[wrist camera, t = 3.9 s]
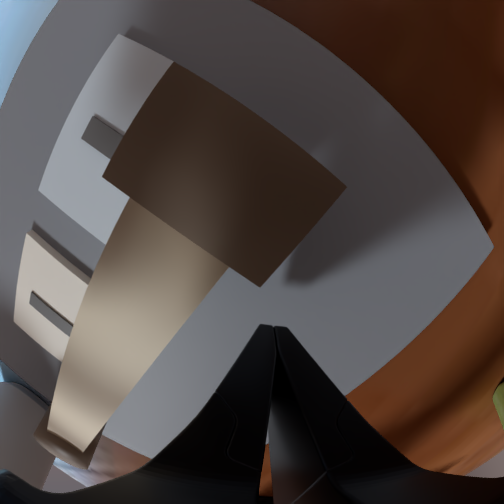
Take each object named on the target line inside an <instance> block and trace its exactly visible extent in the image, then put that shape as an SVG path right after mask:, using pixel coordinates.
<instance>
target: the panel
mask: <svg viewBox="0 0 504 504" xmlns="http://www.w3.org/2000/svg"><path fill="white" fill-rule="evenodd" d="M173 62H176V63H177V64H179V65H181V66H183V67H184V68H186V69H188V70H190V71H191V72H193V73H195V74H196V75H198V76H200V77H201V78H203V79H205V80H206V81H208V82H209V83H211V84H213V85H214V86H216V87H217V88H219V89H220V90H222V91H224V92H225V93H227V94H228V95H230V96H231V97H233V98H234V99H236V100H237V101H239V102H240V103H242V104H243V105H245V106H246V107H247V108H249V109H250V110H252V111H253V112H255V113H256V114H257V115H259V116H260V117H262V118H263V119H264V120H266V121H267V122H268V123H270V124H271V125H273V126H274V127H275V128H277V129H278V130H279V131H281V132H282V133H283V134H284V135H286V136H287V137H288V138H290V139H291V140H292V141H293V142H295V143H296V144H297V145H299V146H300V147H301V148H302V149H304V150H305V151H306V152H307V153H308V154H310V155H311V156H312V157H313V158H315V159H316V160H317V161H318V162H319V163H321V164H322V165H323V166H324V167H325V168H326V169H328V170H329V171H330V172H331V173H332V174H333V175H335V176H336V177H337V178H338V179H339V180H340V181H341V182H342V183H344V184H345V185H346V186H347V188H346V189H345V190H344V192H343V193H342V194H341V195H340V196H339V198H338V199H337V200H336V201H335V202H334V204H333V205H332V206H331V207H330V208H329V209H328V211H327V212H326V213H325V214H324V215H323V217H322V218H321V219H320V220H319V221H318V222H317V224H316V225H315V226H314V227H313V228H312V229H311V231H310V232H309V233H308V234H307V235H306V236H305V237H304V239H303V240H302V241H301V242H300V243H299V244H298V246H297V247H296V248H295V249H294V250H293V251H292V252H291V254H290V255H289V256H288V257H287V258H286V259H285V260H284V262H283V263H282V264H281V265H280V266H279V267H278V268H277V269H276V271H275V272H274V273H273V274H272V275H271V276H270V277H269V278H268V280H267V281H266V282H265V283H264V284H263V285H262V286H261V287H258V286H257V285H255V284H254V283H252V282H251V281H249V280H248V279H246V278H245V277H243V276H242V275H240V274H239V273H237V272H236V271H234V270H233V269H231V268H230V267H229V268H228V269H227V270H226V272H225V273H224V274H223V275H222V277H221V278H220V279H219V280H218V282H217V283H216V284H215V285H214V287H213V288H212V289H211V290H210V292H209V293H208V294H207V295H206V297H205V298H204V299H203V300H202V302H201V303H200V304H199V305H198V307H197V308H196V309H195V310H194V312H193V313H192V314H191V315H190V317H189V318H188V319H187V320H186V322H185V323H184V324H183V325H182V327H181V328H180V329H179V330H178V332H177V333H176V334H175V335H174V337H173V338H172V339H171V341H170V342H169V343H168V344H167V346H166V347H165V348H164V349H163V351H162V352H161V353H160V354H159V356H158V357H157V358H156V359H155V361H154V362H153V363H152V365H151V366H150V367H149V368H148V370H147V371H146V372H145V373H144V375H143V376H142V377H141V379H140V380H139V381H138V382H137V384H136V385H135V386H134V387H133V389H132V390H131V391H130V393H129V394H128V395H127V396H126V398H125V399H124V400H123V402H122V403H121V404H120V405H119V407H118V408H117V409H116V410H115V412H114V413H113V414H112V416H111V417H110V418H109V419H108V421H107V423H106V425H105V428H104V430H103V432H102V434H103V435H104V436H106V437H108V438H110V439H112V440H114V441H115V442H117V443H119V444H121V445H123V446H125V447H127V448H129V449H131V450H133V451H136V452H138V453H140V454H142V455H144V456H146V457H149V458H151V459H152V458H154V457H155V456H156V455H157V454H158V453H159V452H160V451H161V450H162V449H163V448H164V447H166V446H167V445H168V444H169V443H170V442H171V441H172V440H173V439H174V438H175V437H176V436H177V435H178V434H179V433H180V432H181V431H182V430H183V429H184V428H185V427H186V426H187V425H188V424H189V423H190V422H191V421H192V420H193V419H194V418H195V417H196V415H197V414H198V413H199V412H200V411H201V409H202V408H203V407H204V405H205V404H206V403H207V401H208V400H209V399H210V397H211V396H212V394H213V393H214V392H215V390H216V389H217V387H218V386H219V384H220V383H221V381H222V380H223V379H224V377H225V376H226V374H227V373H228V371H229V370H230V368H231V367H232V365H233V364H234V362H235V361H236V359H237V358H238V356H239V355H240V353H241V352H242V350H243V349H244V347H245V346H246V344H247V342H248V341H249V339H250V338H251V336H252V335H253V333H254V332H255V330H256V329H257V327H258V325H259V324H267V325H272V326H273V327H274V326H285V327H288V328H289V330H290V331H291V332H292V333H293V334H294V336H295V337H296V338H297V339H298V341H299V342H300V343H301V344H302V345H303V347H304V348H305V349H306V350H307V352H308V353H309V354H310V355H311V356H312V358H313V359H314V360H315V361H316V362H317V364H318V365H319V366H320V367H321V368H322V370H323V371H324V372H325V373H326V374H327V376H328V377H329V378H330V379H331V380H332V382H333V383H334V384H335V385H336V386H337V388H338V389H339V390H340V391H341V392H342V394H343V395H344V396H345V395H347V394H348V393H349V392H351V391H352V390H353V389H355V388H356V387H357V386H359V385H360V384H361V383H363V382H364V381H365V380H366V379H368V378H369V377H370V376H372V375H373V374H374V373H375V372H376V371H378V370H379V369H380V368H381V367H383V366H384V365H385V364H386V363H387V362H389V361H390V360H391V359H392V358H393V357H394V356H395V355H397V354H398V353H399V352H400V351H401V350H402V349H403V348H404V347H406V346H407V345H408V344H409V343H410V342H411V341H412V340H413V339H414V338H415V337H416V336H417V335H418V334H419V333H420V332H421V331H422V330H424V329H425V328H426V327H427V326H428V325H429V324H430V323H431V322H432V320H433V319H434V318H435V317H436V316H437V315H438V314H439V313H440V312H441V311H442V310H443V309H444V308H445V307H446V306H447V305H448V304H449V302H450V301H451V300H452V299H453V298H454V297H455V296H456V295H457V293H458V292H459V291H460V290H461V289H462V288H463V286H464V285H465V284H466V283H467V282H468V280H469V279H470V278H471V277H472V276H473V274H474V273H475V272H476V271H477V269H478V268H479V267H480V265H481V264H482V263H483V261H484V260H485V259H486V257H487V256H488V255H489V253H490V252H491V251H492V249H493V248H494V246H493V244H492V242H491V240H490V238H489V236H488V235H487V233H486V231H485V229H484V227H483V226H482V224H481V222H480V220H479V219H478V217H477V215H476V214H475V212H474V210H473V209H472V207H471V205H470V204H469V202H468V201H467V199H466V198H465V196H464V194H463V193H462V191H461V190H460V188H459V187H458V186H457V184H456V183H455V181H454V180H453V178H452V177H451V176H450V174H449V173H448V171H447V170H446V169H445V167H444V166H443V165H442V163H441V162H440V161H439V159H438V158H437V157H436V156H435V154H434V153H433V152H432V151H431V149H430V148H429V147H428V146H427V144H426V143H425V142H424V141H423V140H422V138H421V137H420V136H419V135H418V134H417V133H416V131H415V130H414V129H413V128H412V127H411V126H410V125H409V124H408V122H407V121H406V120H405V119H404V118H403V117H402V116H401V115H400V114H399V113H398V112H397V111H396V110H395V109H394V108H393V107H392V106H391V105H390V104H389V103H388V102H387V101H386V100H385V99H384V98H383V97H382V96H381V95H380V94H379V93H378V92H377V91H376V90H375V89H374V88H373V87H372V86H371V85H370V84H369V83H367V82H366V81H365V80H364V79H363V78H362V77H361V76H360V75H358V74H357V73H356V72H355V71H354V70H353V69H351V68H350V67H349V66H348V65H347V64H345V63H344V62H343V61H342V60H340V59H339V58H338V57H337V56H335V55H334V54H333V53H331V52H330V51H329V50H328V49H326V48H325V47H324V46H322V45H321V44H319V43H318V42H317V41H315V40H314V39H312V38H311V37H310V36H308V35H307V34H305V33H304V32H302V31H301V30H299V29H298V28H296V27H295V26H293V25H292V24H290V23H288V22H287V21H285V20H284V19H282V18H280V17H279V16H277V15H275V14H274V13H272V12H270V11H268V10H267V9H265V8H263V7H261V6H259V5H258V4H256V3H254V2H252V1H250V0H59V1H58V2H57V4H56V5H55V6H54V8H53V9H52V11H51V12H50V14H49V15H48V17H47V18H46V20H45V21H44V23H43V24H42V26H41V27H40V29H39V31H38V32H37V34H36V36H35V37H34V39H33V41H32V42H31V44H30V46H29V48H28V50H27V51H26V53H25V55H24V57H23V59H22V61H21V63H20V65H19V67H18V69H17V71H16V73H15V75H14V77H13V80H12V82H11V84H10V86H9V89H8V91H7V93H6V96H5V98H4V101H3V103H2V106H1V109H0V359H1V360H2V361H3V362H4V363H5V364H6V365H7V366H8V367H9V368H10V369H11V370H13V371H14V372H15V373H16V374H17V375H18V376H19V377H21V378H22V379H23V380H24V381H25V382H27V383H28V384H29V385H30V386H31V387H33V388H34V389H35V390H36V391H38V392H39V393H40V394H42V395H43V396H44V397H46V398H47V399H48V400H50V401H51V402H52V400H53V396H54V392H55V388H56V384H57V379H58V376H59V372H60V368H61V364H62V361H63V357H64V354H65V350H66V347H67V344H68V341H69V337H70V334H71V331H72V328H73V325H74V322H75V319H76V316H77V314H78V311H79V308H80V305H81V303H82V300H83V297H84V295H85V292H86V290H87V287H88V285H89V282H90V280H91V277H92V275H93V273H94V270H95V268H96V265H97V263H98V261H99V259H100V256H101V254H102V252H103V250H104V248H105V245H106V243H107V241H108V239H109V237H110V235H111V233H112V231H113V229H114V227H115V225H116V223H117V221H118V219H119V217H120V215H121V213H122V211H123V209H124V207H125V205H126V203H127V202H128V200H129V198H130V197H129V196H127V195H126V194H124V193H123V192H122V191H120V190H119V189H118V188H116V187H115V186H113V185H112V184H111V183H109V182H108V181H107V180H105V179H104V178H103V177H102V175H103V173H104V171H105V169H106V167H107V165H108V163H109V162H110V160H111V158H112V156H113V154H114V152H115V150H116V149H117V147H118V145H119V143H120V141H121V140H122V138H123V136H124V134H125V133H126V131H127V129H128V128H129V126H130V124H131V123H132V121H133V119H134V118H135V116H136V115H137V113H138V111H139V110H140V108H141V107H142V105H143V104H144V102H145V101H146V99H147V98H148V96H149V95H150V93H151V92H152V90H153V89H154V87H155V86H156V85H157V83H158V82H159V80H160V79H161V78H162V76H163V75H164V73H165V72H166V71H167V69H168V68H169V67H170V65H171V64H172V63H173ZM268 443H269V437H268V431H267V438H266V444H268Z"/></svg>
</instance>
